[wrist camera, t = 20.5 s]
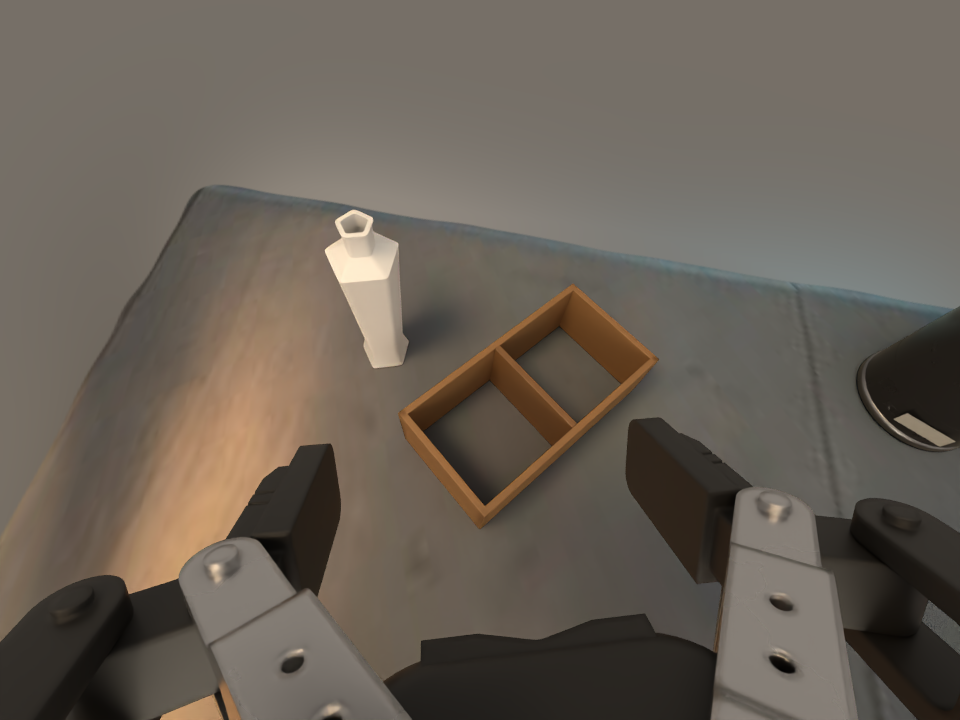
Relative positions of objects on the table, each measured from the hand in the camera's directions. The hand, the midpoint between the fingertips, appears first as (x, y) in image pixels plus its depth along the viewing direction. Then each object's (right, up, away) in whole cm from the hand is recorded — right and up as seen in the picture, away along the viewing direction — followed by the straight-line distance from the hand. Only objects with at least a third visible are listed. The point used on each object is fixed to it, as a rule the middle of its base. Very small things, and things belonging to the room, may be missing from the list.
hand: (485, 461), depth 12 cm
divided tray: (+4, -2, +25) cm, 26 cm away
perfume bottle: (-8, +4, +28) cm, 29 cm away
